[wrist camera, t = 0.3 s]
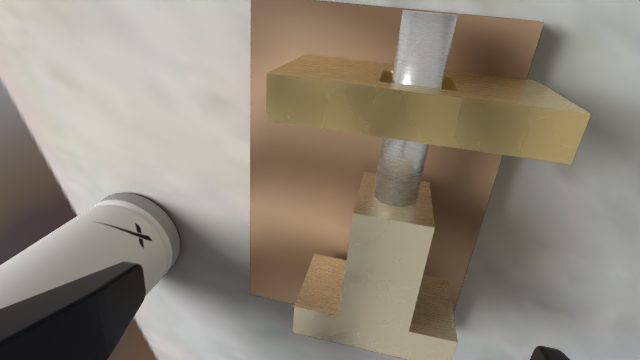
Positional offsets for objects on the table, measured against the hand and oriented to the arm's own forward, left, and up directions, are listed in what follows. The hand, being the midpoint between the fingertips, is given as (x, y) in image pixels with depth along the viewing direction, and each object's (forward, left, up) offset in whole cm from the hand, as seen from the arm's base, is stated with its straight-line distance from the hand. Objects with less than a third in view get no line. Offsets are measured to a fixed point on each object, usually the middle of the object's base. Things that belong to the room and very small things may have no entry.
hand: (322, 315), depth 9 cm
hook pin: (-1, -2, -10) cm, 10 cm away
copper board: (-2, 0, -13) cm, 13 cm away
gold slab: (+3, -2, -11) cm, 12 cm away
